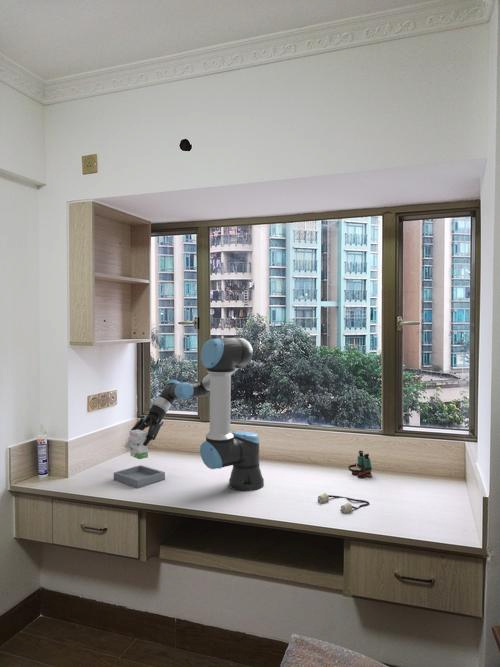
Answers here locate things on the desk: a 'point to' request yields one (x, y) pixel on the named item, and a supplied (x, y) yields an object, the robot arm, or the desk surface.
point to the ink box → (137, 444)
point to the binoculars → (362, 466)
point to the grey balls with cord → (345, 507)
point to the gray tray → (139, 476)
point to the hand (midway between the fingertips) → (132, 449)
